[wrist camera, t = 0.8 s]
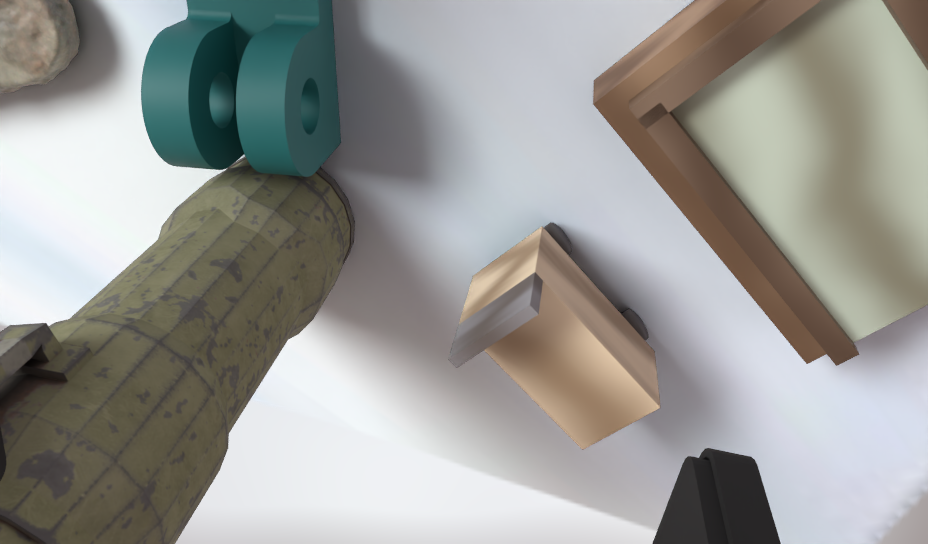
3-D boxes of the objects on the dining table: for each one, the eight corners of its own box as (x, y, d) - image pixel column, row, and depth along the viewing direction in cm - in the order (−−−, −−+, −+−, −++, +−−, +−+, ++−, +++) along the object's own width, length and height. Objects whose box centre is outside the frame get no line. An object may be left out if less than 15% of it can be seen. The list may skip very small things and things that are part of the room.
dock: (859, -132, 32) (901, -127, 28) (1053, 178, 37) (1115, 224, 33) (594, 80, 38) (593, 112, 34) (790, 322, 43) (812, 377, 39)
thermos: (250, 311, 49) (-316, 1069, 19) (181, 137, 43) (-769, 805, 13) (380, 298, 47) (-22, 1126, 17) (324, 113, 41) (-419, 840, 11)
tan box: (544, 210, 42) (529, 305, 33) (652, 331, 45) (664, 448, 36) (478, 259, 44) (448, 359, 36) (584, 372, 47) (581, 490, 38)
